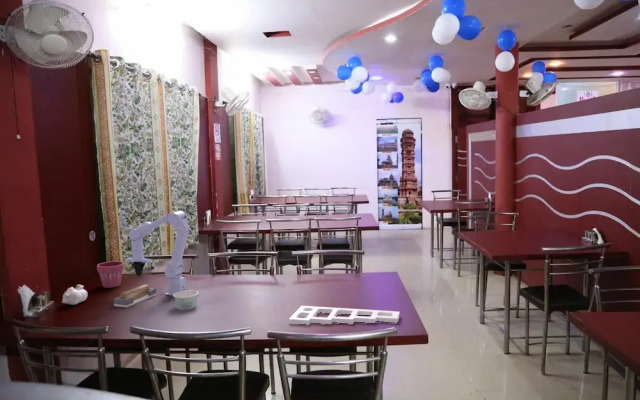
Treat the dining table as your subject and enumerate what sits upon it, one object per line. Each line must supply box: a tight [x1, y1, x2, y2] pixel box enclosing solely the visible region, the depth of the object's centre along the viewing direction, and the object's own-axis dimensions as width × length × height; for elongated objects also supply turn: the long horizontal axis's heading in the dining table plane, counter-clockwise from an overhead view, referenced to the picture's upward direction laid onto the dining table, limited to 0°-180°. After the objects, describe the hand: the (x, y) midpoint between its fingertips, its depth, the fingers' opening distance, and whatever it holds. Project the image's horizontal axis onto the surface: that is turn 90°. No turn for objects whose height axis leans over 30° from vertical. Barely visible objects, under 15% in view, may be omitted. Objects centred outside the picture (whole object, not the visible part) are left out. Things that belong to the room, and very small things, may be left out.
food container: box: [172, 289, 200, 311], centre depth 227 cm, size 12×12×6 cm
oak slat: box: [120, 284, 150, 301], centre depth 240 cm, size 3×16×5 cm, turn 159°
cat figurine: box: [61, 284, 88, 306], centre depth 238 cm, size 10×8×15 cm
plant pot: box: [96, 260, 125, 289], centre depth 270 cm, size 14×14×13 cm
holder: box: [288, 305, 401, 326], centre depth 203 cm, size 45×18×3 cm, turn 75°
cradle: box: [113, 287, 157, 308], centre depth 240 cm, size 8×21×4 cm, turn 159°
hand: (139, 275), depth 253 cm, fingers closed
